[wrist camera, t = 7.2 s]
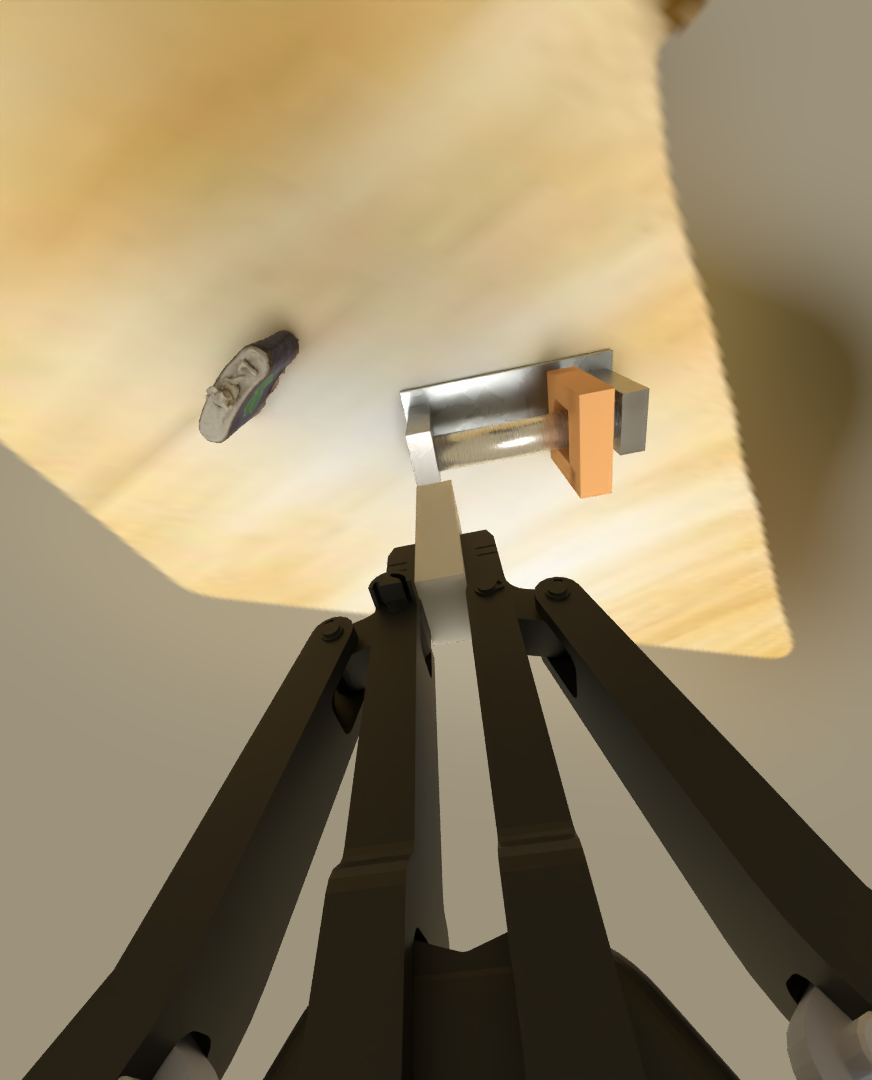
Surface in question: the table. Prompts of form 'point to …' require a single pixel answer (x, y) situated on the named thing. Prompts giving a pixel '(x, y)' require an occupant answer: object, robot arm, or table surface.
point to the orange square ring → (584, 429)
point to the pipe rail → (509, 416)
